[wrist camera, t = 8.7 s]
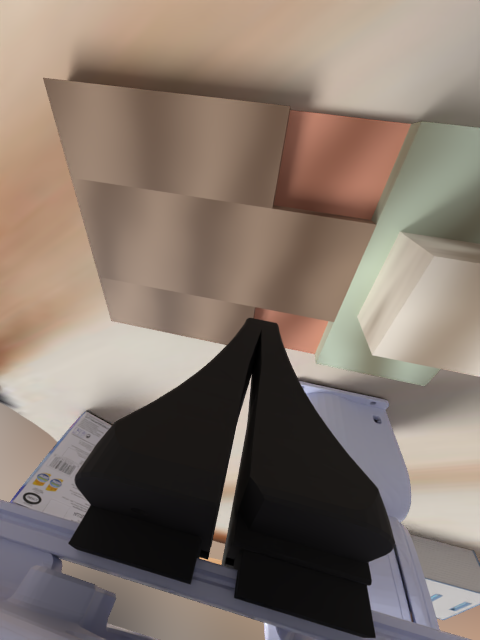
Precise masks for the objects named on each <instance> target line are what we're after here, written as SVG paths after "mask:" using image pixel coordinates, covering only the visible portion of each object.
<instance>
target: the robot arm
mask: <svg viewBox="0 0 480 640" xmlns="http://www.w3.org/2000/svg"><path fill="white" fill-rule="evenodd" d="M251 375H252V379H251V390H250V401H249V412H248V422H247V430H246V435H245V441H244V446H243V452H242V457H241V463H240V468H239V474H238V479H237V485H236V490H235V496H234V501H233V506H232V512H231V517H230V523H229V528H228V533H227V539H226V544H225V549H224V555H223V560H222V565H219V564H215V563H212V562H209V561H205V560H202V559H199V557H201V558H205V559H208V557H209V552H210V547H211V545H212V540H213V535H214V530H215V526H216V521H217V516H218V511H219V506H220V502H221V497H222V492H223V487H224V483H225V478H226V473H227V468H228V463H229V459H230V454H231V449H232V444H233V440H234V435H235V430H236V426H237V422H238V418H239V414H240V411H241V408H242V404H243V401H244V398H245V395H246V391H247V388H248V385H249V381H250V378H251ZM388 406H389V403H388V401H387V400H385V399H380V398H375V397H371V396H366V395H361V394H357V393H352V392H348V391H343V390H338V389H334V388H329V387H325V386H320V385H315V384H311V383H306V382H302V381H299V380H298V378H297V376H296V374H295V372H294V370H293V368H292V365H291V363H290V361H289V358H288V356H287V353H286V350H285V348H284V345H283V342H282V338H281V335H280V331H279V326H278V324H277V323H274V322H269V321H264V320H259V319H254V318H248V319H246V321H245V323H244V325H243V326H242V328H241V329H240V330H239V332H238V333H237V334H236V335H235V337H234V338H233V339H232V340H231V341H230V342H229V344H228V345H227V346H226V347H225V348H224V349H223V350H222V351H221V352H220V353H219V354H218V355H217V356H216V357H215V358H214V359H212V360H211V361H210V362H209V363H208V364H207V365H206V366H204V367H203V368H202V369H201V370H200V371H198V372H197V373H196V374H194V375H193V376H192V377H190V378H189V379H188V380H186V381H185V382H184V383H182V384H181V385H179V386H178V387H176V388H175V389H173V390H171V391H170V392H168V393H167V394H165V395H163V396H162V397H160V398H158V399H157V400H155V401H154V402H152V403H150V404H148V405H146V406H145V407H143V408H141V409H139V410H137V411H135V412H133V413H131V414H129V415H127V416H125V417H124V418H122V419H120V420H118V421H116V422H115V423H114V424H113V425H112V426H111V427H110V429H109V430H108V431H107V432H106V433H105V435H104V436H103V437H102V438H101V439H100V441H99V442H98V443H97V444H96V446H95V447H94V449H93V450H92V452H91V453H90V454H89V456H88V457H87V459H86V460H85V462H84V463H83V465H82V466H81V468H80V469H79V471H78V472H77V474H76V475H75V479H74V480H75V485H76V487H77V488H78V490H79V491H80V492H81V493H82V495H83V496H84V497H85V498H86V499H87V501H88V502H89V503H90V504H91V505H90V507H89V509H88V510H87V512H86V514H85V515H84V517H83V519H82V521H81V522H80V523H77V522H74V521H71V520H67V519H64V518H61V517H57V516H54V515H51V514H47V513H44V512H40V511H37V510H34V509H30V508H27V507H24V506H20V505H17V504H14V503H10V502H7V501H3V500H0V640H159V639H156V638H152V637H149V636H146V635H143V634H140V633H137V632H134V631H130V630H127V629H124V628H121V627H118V626H114V625H111V624H108V623H107V621H108V617H109V615H110V612H111V610H112V607H113V605H114V602H115V600H116V595H115V594H114V593H112V592H109V591H107V590H104V589H102V588H100V587H97V586H96V585H95V584H92V583H89V582H86V581H83V580H80V579H77V578H74V577H72V576H69V575H66V574H63V573H61V570H62V561H61V559H63V560H66V561H69V562H72V563H76V564H79V565H82V566H85V567H88V568H92V569H95V570H98V571H101V572H104V573H107V574H111V575H114V576H117V577H121V578H123V579H127V580H130V581H133V582H136V583H140V584H142V585H146V586H149V587H152V588H155V589H159V590H162V591H165V592H168V593H172V594H174V595H178V596H181V597H184V598H187V599H190V600H194V601H197V602H200V603H203V604H207V605H210V606H213V607H216V608H219V609H222V610H225V611H229V612H232V613H235V614H238V615H241V616H245V617H248V618H251V619H254V620H258V621H260V622H264V630H265V640H470V639H467V638H464V637H460V636H457V635H454V634H451V633H447V632H443V631H440V629H439V626H438V622H437V618H436V614H435V611H434V607H433V604H432V600H431V597H430V594H429V590H428V587H427V583H426V580H425V577H424V574H423V571H422V567H421V564H420V561H419V558H418V555H417V552H416V549H415V546H414V544H413V541H412V538H411V536H410V533H409V531H408V530H407V528H406V527H404V526H403V525H402V524H401V523H399V522H401V521H403V520H404V519H405V517H406V516H407V514H408V512H409V509H410V505H411V486H410V479H409V475H408V471H407V468H406V465H405V462H404V459H403V457H402V454H401V451H400V448H399V446H398V443H397V440H396V437H395V435H394V432H393V429H392V426H391V424H390V421H389V418H388V415H387V413H386V409H387V408H388ZM59 558H60V559H59Z"/></svg>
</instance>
